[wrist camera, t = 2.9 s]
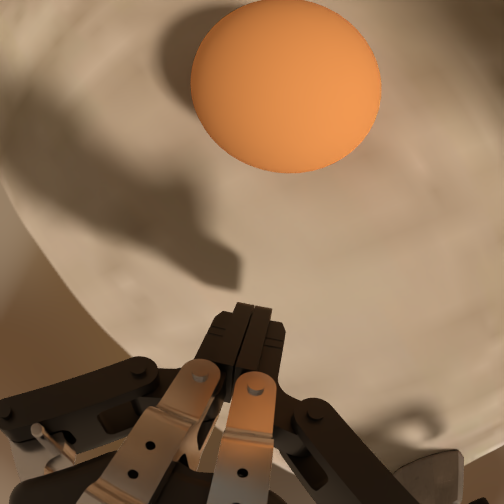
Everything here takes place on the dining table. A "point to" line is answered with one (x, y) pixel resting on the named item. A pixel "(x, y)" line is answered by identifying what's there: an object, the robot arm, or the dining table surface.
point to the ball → (285, 85)
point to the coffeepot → (436, 479)
